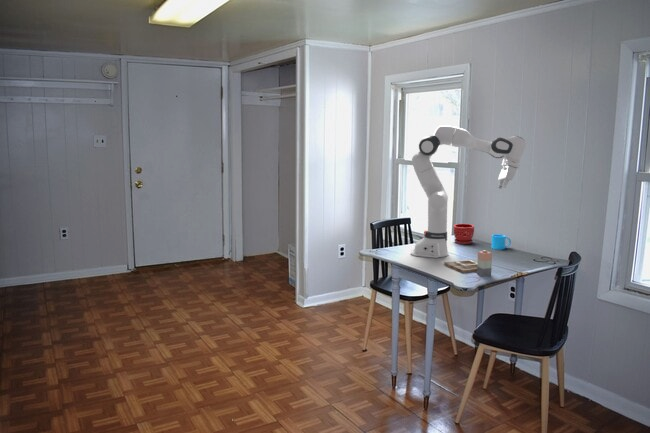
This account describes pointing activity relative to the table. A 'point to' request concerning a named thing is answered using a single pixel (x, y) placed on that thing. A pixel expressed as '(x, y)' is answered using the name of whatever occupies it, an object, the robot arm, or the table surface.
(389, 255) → the table surface
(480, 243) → the table surface
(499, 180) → the robot arm
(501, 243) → the mug
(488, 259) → the brick tower
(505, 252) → the table surface
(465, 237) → the plant pot
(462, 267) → the socket board
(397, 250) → the table surface
